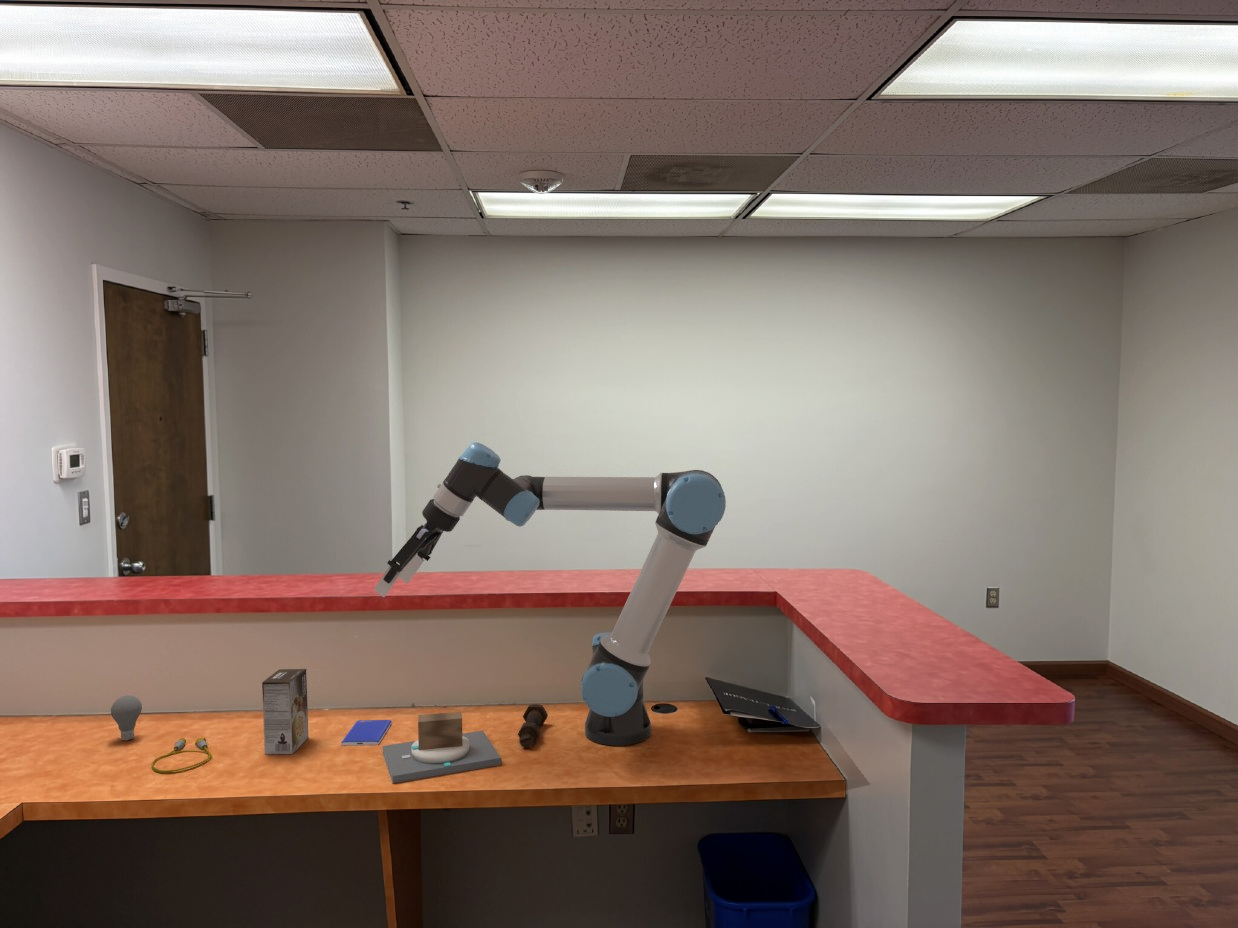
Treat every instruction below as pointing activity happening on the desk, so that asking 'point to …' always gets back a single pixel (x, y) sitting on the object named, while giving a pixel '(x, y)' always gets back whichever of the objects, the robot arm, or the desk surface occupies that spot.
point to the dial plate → (411, 769)
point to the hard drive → (367, 732)
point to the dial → (440, 738)
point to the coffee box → (285, 711)
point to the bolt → (532, 725)
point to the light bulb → (126, 715)
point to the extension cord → (179, 745)
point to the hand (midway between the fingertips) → (391, 586)
